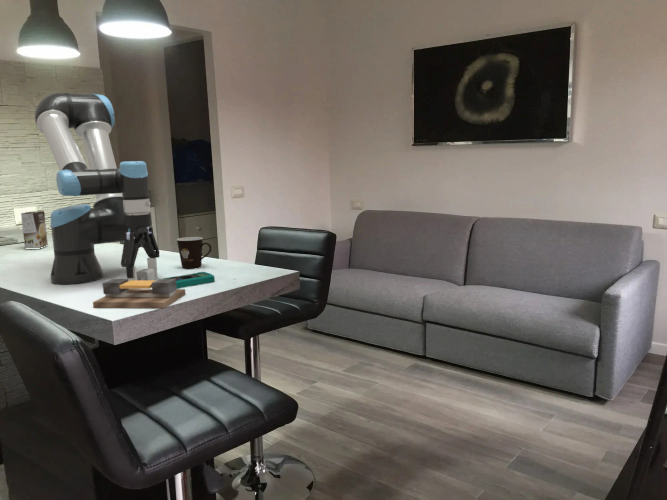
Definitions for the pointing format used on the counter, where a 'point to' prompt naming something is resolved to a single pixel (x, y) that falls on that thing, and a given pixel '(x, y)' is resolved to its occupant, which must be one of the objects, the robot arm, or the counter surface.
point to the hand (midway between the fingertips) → (143, 283)
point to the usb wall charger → (146, 274)
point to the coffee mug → (191, 251)
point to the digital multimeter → (193, 279)
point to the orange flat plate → (137, 284)
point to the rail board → (139, 295)
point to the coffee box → (34, 229)
